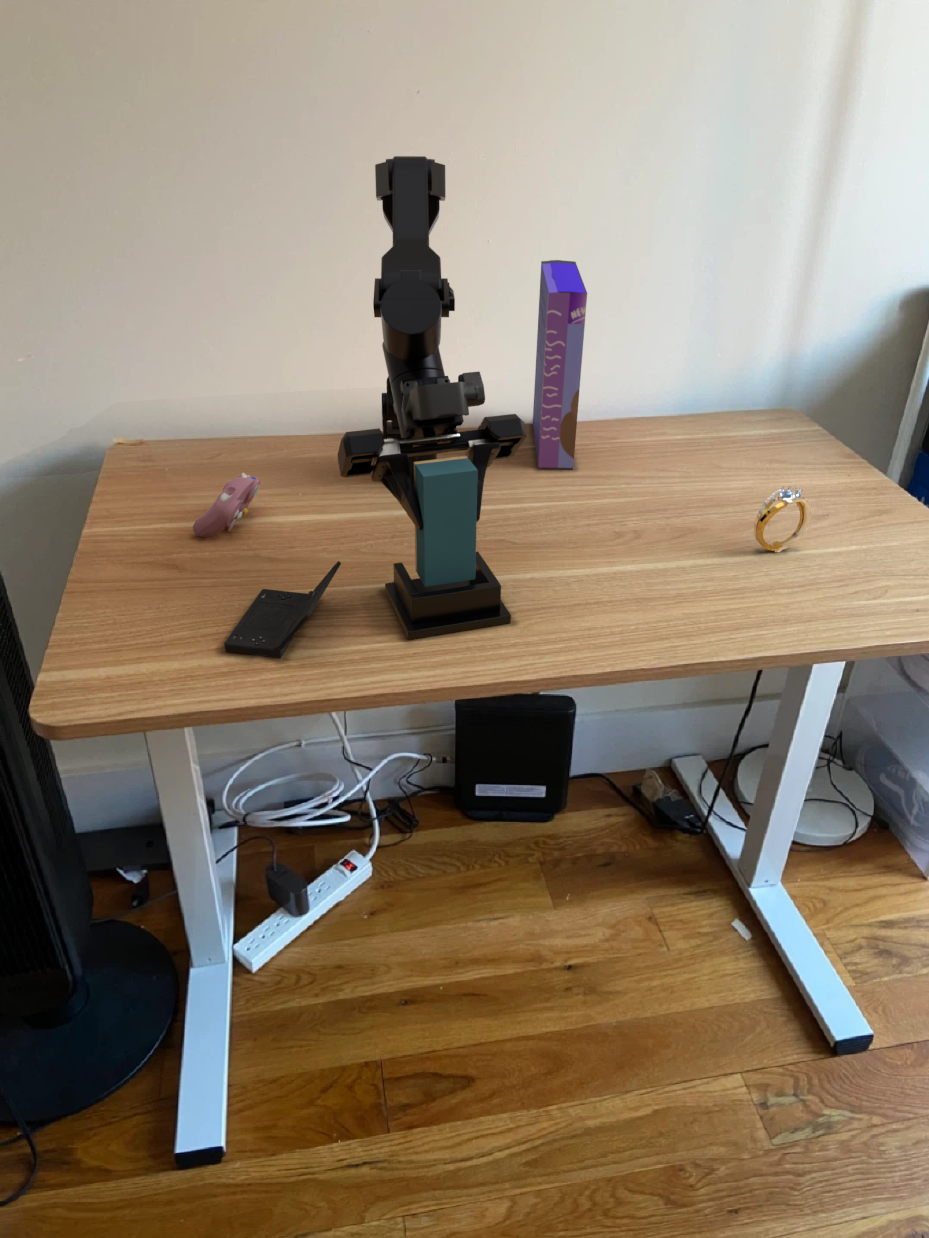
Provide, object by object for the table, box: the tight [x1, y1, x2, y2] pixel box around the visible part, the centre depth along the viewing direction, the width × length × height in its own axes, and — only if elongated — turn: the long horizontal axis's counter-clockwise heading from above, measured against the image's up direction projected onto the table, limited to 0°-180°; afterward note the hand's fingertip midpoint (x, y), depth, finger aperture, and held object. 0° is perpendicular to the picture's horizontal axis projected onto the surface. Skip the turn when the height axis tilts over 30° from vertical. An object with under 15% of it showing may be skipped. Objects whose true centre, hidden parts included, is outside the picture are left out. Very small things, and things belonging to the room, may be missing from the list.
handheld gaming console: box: [223, 560, 342, 659], centre depth 96 cm, size 12×7×10 cm
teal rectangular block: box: [414, 455, 478, 587], centre depth 96 cm, size 4×6×12 cm, turn 108°
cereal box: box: [532, 259, 588, 470], centre depth 132 cm, size 17×5×24 cm, turn 179°
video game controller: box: [192, 472, 262, 538], centre depth 115 cm, size 10×5×7 cm, turn 168°
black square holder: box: [384, 550, 512, 641], centre depth 100 cm, size 10×11×4 cm
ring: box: [753, 485, 812, 553], centre depth 110 cm, size 7×3×8 cm, turn 105°
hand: (448, 525), depth 95 cm, fingers closed on teal rectangular block, 5 cm apart
